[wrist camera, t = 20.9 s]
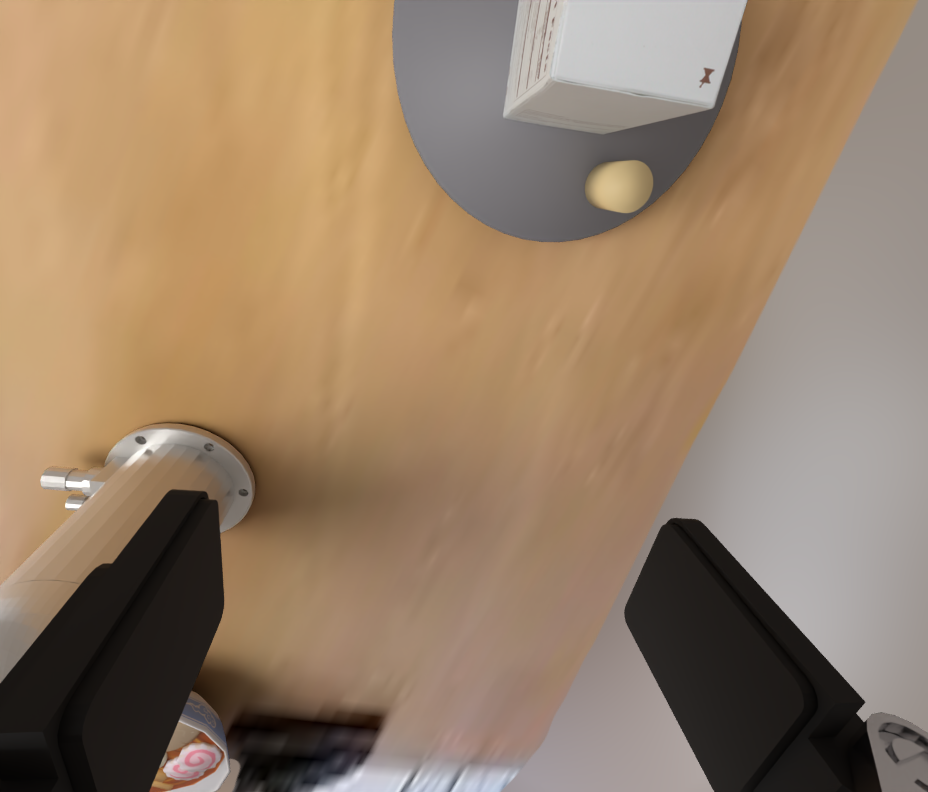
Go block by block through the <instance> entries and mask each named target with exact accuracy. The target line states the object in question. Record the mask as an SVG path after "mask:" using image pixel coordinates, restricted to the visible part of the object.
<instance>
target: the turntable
mask: <svg viewBox="0 0 928 792" xmlns="http://www.w3.org/2000/svg"><path fill="white" fill-rule="evenodd" d="M518 2H519V0H395V2H394V16H393V31H392V39H393V62H394V70H395V77H396V84H397V90H398V95H399V99H400V103H401V107H402V110H403V114H404V118H405V122H406V124H407V127H408V129H409V132H410V135H411V137H412V140H413V142H414V145H415V147H416V149H417V151H418V152H419V154H420V156H421V158H422V160H423V162H424V164H425V166H426V167H427V168H428V170H429V171H430V173H431V174H432V176H433V177H434V179H435V180H436V182H437V183H438V184H439V185H440V186H441V188H442V189H443V190H444V191H445V192H446V193H447V194H448V195H449V197H450V198H451V199H452V200H453V201H455V202H456V203H457V204H458V205H459V206H460V207H461V208H463V209H464V210H465V211H466V212H467V213H469V214H470V215H472V216H473V217H475V218H476V219H478V220H479V221H481V222H482V223H484V224H485V225H487V226H489V227H491V228H494V229H496V230H498V231H500V232H502V233H504V234H508V235H511V236H514V237H518V238H521V239H526V240H533V241H539V242H564V241H572V240H579V239H583V238H587V237H590V236H594V235H598V234H600V233H603V232H605V231H608V230H610V229H612V228H615V227H617V226H619V225H621V224H622V223H624V222H626V221H628V220H629V219H631V218H633V217H635V216H636V215H638V214H639V213H640V212H642V211H643V210H644V209H646V208H647V207H648V206H650V205H651V204H652V203H654V202H655V201H656V200H657V199H658V198H659V197H660V196H661V195H662V194H663V193H664V192H666V191H667V190H668V189H669V188H670V187H671V185H672V184H673V183H674V182H675V181H676V180H677V179H678V178H679V176H680V175H681V174H682V173H683V172H684V171H685V169H686V168H687V166H688V165H689V164H690V162H691V161H692V159H693V158H694V157H695V155H696V154H697V152H698V151H699V149H700V148H701V146H702V144H703V142H704V141H705V139H706V137H707V135H708V134H709V132H710V130H711V128H712V126H713V124H714V122H715V120H716V117H717V115H718V113H719V111H720V109H721V106H722V104H723V101H724V98H725V95H726V92H727V89H728V86H729V84H730V81H731V77H732V73H733V69H734V65H735V60H736V56H737V52H738V45H739V38H740V31H741V24H742V19H741V22H740V26H739V29H738V32H737V35H736V38H735V42H734V45H733V48H732V51H731V54H730V57H729V61H728V64H727V67H726V70H725V73H724V76H723V79H722V83H721V86H720V90H719V93H718V96H717V100H716V103H715V107H714V108H712V109H709V110H705V111H701V112H697V113H693V114H688V115H684V116H680V117H675V118H671V119H667V120H663V121H658V122H654V123H650V124H645V125H641V126H637V127H633V128H628V129H624V130H620V131H616V132H611V133H607V134H604V135H603V134H597V133H590V132H583V131H577V130H570V129H564V128H558V127H551V126H545V125H539V124H533V123H527V122H521V121H516V120H511V119H506V118H504V117H503V112H504V104H505V97H506V89H507V82H508V75H509V68H510V61H511V53H512V46H513V39H514V32H515V25H516V17H517V10H518Z"/></svg>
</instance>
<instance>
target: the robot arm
mask: <svg viewBox="0 0 928 792" xmlns="http://www.w3.org/2000/svg"><path fill="white" fill-rule="evenodd" d="M41 486H42V487H43V489H51V490H63V491H72V490H76V491H82V492H83V494H84V495H76V494H72V495H71V496H69V498H68V499H67V501H66V509H67V510H75V512H74V513H73V514H72V515H71V516H70V517H69V518H68V519H67V520H66V521H65V522H64V523H63V524H62V525H61V526H60V527H59V528H58V529H57V530H56V531H55V532H54V533H53V534H52V535H51V536H50V537H49V538H48V539H47V540H46V541H45V542H44V543H43V544H42V545H41V546H40V547H39V548H38V549H37V550H36V551H35V552H34V553H33V554H32V555H31V556H30V557H29V558H28V559H27V560H26V561H25V562H24V563H22V564H21V565H20V566H19V567H18V568H17V569H16V570H15V571H14V572H13V573H12V574H11V575H10V576H9V577H8V578H7V579H6V580H5V581H4V582H3V583H2V584H1V585H0V792H149V791H150V789H151V786H152V784H153V782H154V779H155V777H156V774H157V772H158V770H159V767H160V765H161V762H162V760H163V758H164V755H165V753H166V750H167V748H168V746H169V743H170V741H171V738H172V736H173V734H174V731H175V729H176V726H177V724H178V722H179V719H180V717H181V715H182V712H183V710H184V707H185V705H186V703H187V700H188V698H189V695H190V693H191V691H192V688H193V686H194V683H195V681H196V679H197V676H198V674H199V671H200V669H201V667H202V664H203V662H204V659H205V657H206V655H207V652H208V650H209V647H210V645H211V643H212V640H213V638H214V635H215V633H216V631H217V628H218V626H219V623H220V621H221V618H222V614H223V609H224V588H223V572H222V556H221V539H220V533H222V532H224V531H226V530H228V529H230V528H232V527H234V526H235V525H236V524H238V523H239V522H240V521H241V520H242V519H243V518H244V516H245V515H246V514H247V512H248V510H249V509H250V507H251V505H252V502H253V499H254V496H255V481H254V476H253V473H252V471H251V469H250V466H249V464H248V463H247V462H246V460H245V459H244V457H243V456H242V455H241V454H240V453H239V452H238V451H237V450H236V449H235V448H234V447H233V446H232V445H231V444H229V443H228V442H226V441H225V440H223V439H222V438H220V437H218V436H216V435H214V434H212V433H210V432H209V431H206V430H203V429H200V428H197V427H194V426H189V425H183V424H173V423H162V424H154V425H148V426H145V427H142V428H139V429H136V430H135V431H133V432H131V433H129V434H127V435H126V436H125V437H124V438H123V439H121V440H120V441H119V442H118V443H117V444H116V445H115V446H114V447H113V448H112V450H111V451H110V452H109V454H108V456H107V459H106V461H105V466H104V468H103V467H93V468H91V469H89V471H86V470H78V469H76V468H67V467H56V466H52V467H49V468H47V469H46V470H45V471H44V473H43V475H42V477H41ZM624 613H625V620H626V623H627V625H628V627H629V629H630V631H631V633H632V635H633V637H634V639H635V641H636V643H637V645H638V647H639V649H640V651H641V652H642V654H643V656H644V658H645V660H646V662H647V664H648V666H649V668H650V670H651V672H652V673H653V675H654V677H655V679H656V681H657V683H658V685H659V687H660V689H661V691H662V693H663V695H664V696H665V698H666V700H667V702H668V704H669V706H670V708H671V710H672V712H673V714H674V716H675V718H676V720H677V721H678V723H679V725H680V727H681V729H682V731H683V733H684V735H685V737H686V739H687V740H688V743H689V744H690V746H691V748H692V750H693V752H694V754H695V756H696V758H697V760H698V762H699V764H700V766H701V768H702V769H703V771H704V773H705V775H706V777H707V779H708V781H709V783H710V785H711V787H712V789H713V790H714V792H928V733H927V732H925V731H924V730H922V729H921V728H919V727H918V726H916V725H914V724H913V723H911V722H909V721H907V720H904V719H902V718H900V717H897V716H895V715H891V714H887V713H882V712H881V713H875V714H871V716H870V717H869V718H868V719H867V720H866V721H865V722H863V721H862V720H861V718H860V717H859V716H858V715H857V714H856V713H857V712H858V710H859V709H860V708H861V707H862V705H863V704H864V703H865V701H864V700H863V699H862V698H861V697H860V696H859V694H858V693H857V692H856V691H855V690H854V689H853V688H852V687H851V686H850V685H849V683H848V682H847V681H846V680H845V679H844V678H843V677H842V676H841V675H840V673H839V672H838V671H837V670H836V669H835V668H834V667H833V666H832V665H831V664H830V663H829V661H828V660H827V659H826V658H825V657H824V656H823V655H822V654H821V653H820V652H819V651H818V649H817V648H816V647H815V646H814V645H813V644H812V643H811V642H810V640H809V639H808V638H807V637H806V636H805V635H804V634H803V633H802V632H801V631H800V629H799V628H798V627H797V626H796V625H795V624H794V623H793V622H792V621H791V620H790V619H789V617H788V616H787V615H786V614H785V613H784V612H783V611H782V610H781V609H780V608H779V606H778V605H777V604H776V603H775V602H774V601H773V600H772V599H771V598H770V596H769V595H768V594H767V593H766V592H765V591H764V590H763V589H762V588H761V587H760V585H759V584H758V583H757V582H756V581H755V580H754V579H753V578H752V577H751V576H750V575H749V573H748V572H747V571H746V570H745V569H744V568H743V567H742V566H741V565H740V563H739V562H738V561H737V560H736V559H735V558H734V557H733V556H732V555H731V554H730V552H729V551H728V550H727V549H726V548H725V547H724V546H723V545H722V544H721V543H720V541H719V540H718V539H717V538H716V537H715V536H714V535H713V534H712V533H711V532H710V530H709V529H708V528H707V527H706V526H705V525H704V524H703V523H702V522H701V521H699V520H696V519H681V518H673V519H670V520H669V521H668V522H667V523H666V524H665V525H663V526H662V527H661V529H660V531H659V533H658V535H657V537H656V539H655V542H654V544H653V546H652V548H651V551H650V553H649V555H648V557H647V560H646V562H645V564H644V566H643V568H642V571H641V573H640V575H639V577H638V580H637V582H636V584H635V586H634V588H633V591H632V593H631V595H630V597H629V600H628V602H627V604H626V607H625V612H624Z"/></svg>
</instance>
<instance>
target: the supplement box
mask: <svg viewBox="0 0 928 792" xmlns="http://www.w3.org/2000/svg"><path fill="white" fill-rule="evenodd" d="M746 4H747V0H519V2H518V10H517V17H516V25H515V32H514V39H513V46H512V53H511V61H510V68H509V75H508V82H507V89H506V97H505V104H504V112H503V117H504V118H506V119H511V120H516V121H521V122H527V123H533V124H539V125H545V126H551V127H558V128H564V129H570V130H577V131H583V132H590V133H597V134H603V135H604V134H607V133H611V132H616V131H620V130H624V129H628V128H633V127H637V126H641V125H645V124H650V123H654V122H658V121H663V120H667V119H671V118H675V117H680V116H684V115H688V114H693V113H697V112H701V111H705V110H709V109H712V108H714V107H715V103H716V100H717V96H718V93H719V90H720V86H721V83H722V79H723V76H724V73H725V70H726V67H727V64H728V61H729V57H730V54H731V51H732V48H733V45H734V42H735V38H736V35H737V32H738V29H739V26H740V22H741V19H742V16H743V13H744V10H745V7H746Z"/></svg>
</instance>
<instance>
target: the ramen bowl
mask: <svg viewBox="0 0 928 792" xmlns="http://www.w3.org/2000/svg"><path fill="white" fill-rule="evenodd" d="M229 773H230V761H229V753H228V748H227V743H226V738H225V734H224V730H223V726H222V723H221V720H220V718H219V716H218V714H217V712H216V711H215V710H214V709H213V708H212V707H211V706H210V705H209V704H208V703H207V702H206V701H205V700H204V699H203V698H202V697H201V696H200V695H199V694H198V693H196V692H193V691H191V693H190V695H189V698H188V700H187V703H186V705H185V707H184V710H183V712H182V715H181V717H180V719H179V722H178V724H177V726H176V729H175V731H174V734H173V736H172V738H171V741H170V743H169V746H168V748H167V750H166V753H165V755H164V758H163V760H162V762H161V765H160V767H159V770H158V772H157V774H156V777H155V779H154V782H153V784H152V786H151V789H150V791H149V792H216V791H217V790H219V788H220V787H221V785H222V784H223V782H224V781H225V779H226V778H227V776H228V775H229Z"/></svg>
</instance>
